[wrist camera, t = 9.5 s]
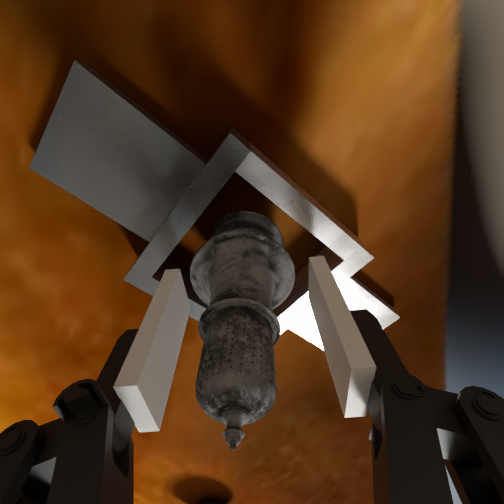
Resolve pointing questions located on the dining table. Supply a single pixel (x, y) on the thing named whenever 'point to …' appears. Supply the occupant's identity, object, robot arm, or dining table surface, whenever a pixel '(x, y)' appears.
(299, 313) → the flanged square frame
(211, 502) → the sphere
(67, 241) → the dining table surface
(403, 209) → the dining table surface
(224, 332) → the grey chess piece
